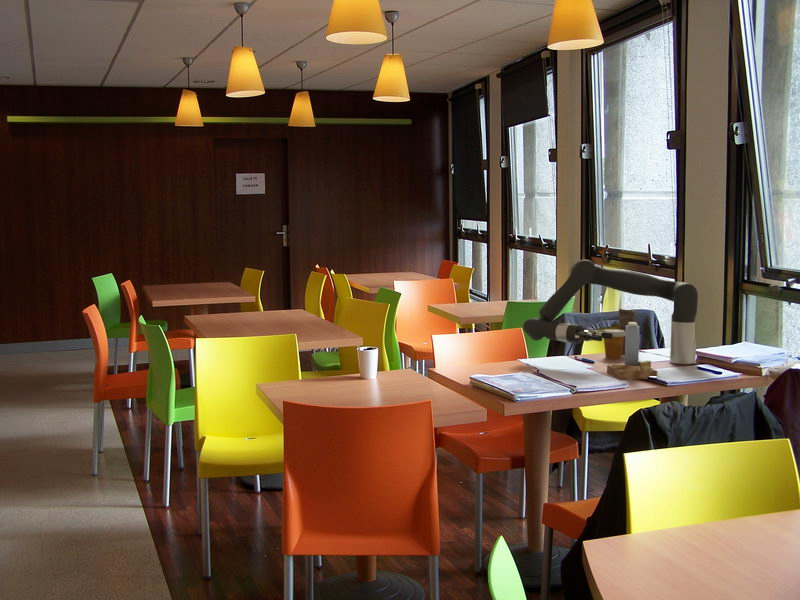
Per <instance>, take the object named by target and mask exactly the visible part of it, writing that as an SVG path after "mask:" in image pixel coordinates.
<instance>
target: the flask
mask: <svg viewBox="0 0 800 600" xmlns="http://www.w3.org/2000/svg"><path fill="white" fill-rule="evenodd" d="M639 352H640V325H638V322H636V323H635V322H629V323H628V325H626V335H625V355H624V361H625V365H631V366H638V362H639V360H640V359H639V358H640V357H639V354H640V353H639Z"/></svg>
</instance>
